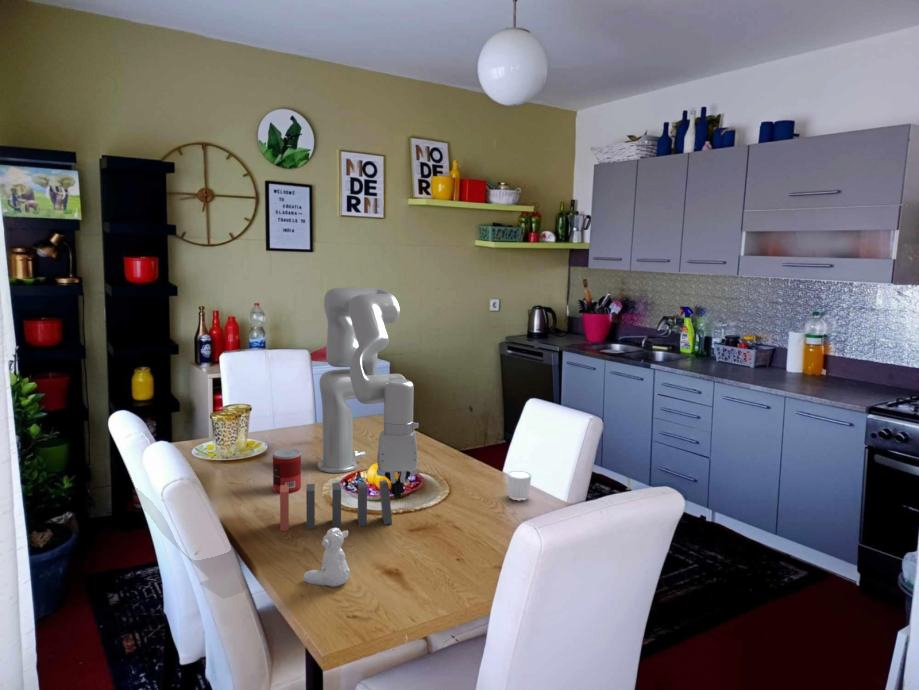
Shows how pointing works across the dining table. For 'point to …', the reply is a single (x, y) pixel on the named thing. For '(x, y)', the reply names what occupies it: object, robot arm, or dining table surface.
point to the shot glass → (519, 484)
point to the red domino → (284, 507)
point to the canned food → (287, 469)
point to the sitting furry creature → (331, 561)
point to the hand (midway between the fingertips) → (396, 496)
